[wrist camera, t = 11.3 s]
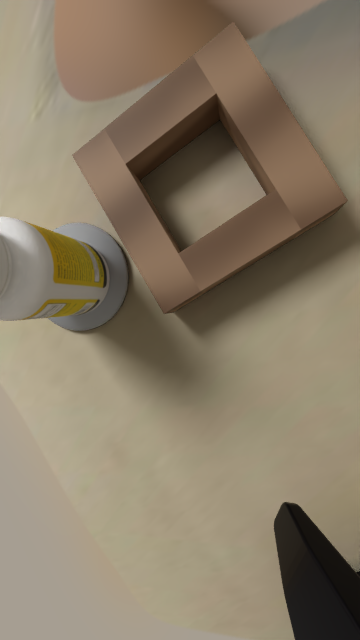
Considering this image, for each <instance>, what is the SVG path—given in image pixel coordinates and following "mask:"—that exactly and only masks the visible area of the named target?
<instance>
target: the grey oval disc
mask: <svg viewBox="0 0 360 640" xmlns="http://www.w3.org/2000/svg"><path fill="white" fill-rule="evenodd" d="M53 231H54V232H56V233H59V234H62V235H65V236H68V237H71V238H74V239H76V240H79V241H82V242H84V243H87V244H89V245H91V246H93V247H94V248H95V249H97V250H98V251H99V252H100V253H101V255H102V256H103V257H104V259H105V261H106V263H107V266H108V269H109V277H110V281H109V288H108V291H107V294H106V296H105V298H104V300H103V301H102V302H101V304H100V305H99V306H98V307H97V308H95V309H94V310H92V311H90V312H88V313H85V314H81V315H74V316H62V317H50V318H48V319H49V320H51V321H52V322H53V323H55V324H57V325H58V326H60V327H63V328H66V329H70V330H77V331H80V330H88V329H93V328H96V327H99V326H101V325H103V324H104V323H106V322H107V321H109V320H110V319H111V318H112V317H113V316H114V315H115V314H116V313H117V311H118V310H119V309H120V307H121V305H122V304H123V301H124V299H125V296H126V293H127V289H128V280H129V274H128V266H127V262H126V259H125V256H124V254H123V252H122V250H121V248H120V246H119V245H118V243H117V242H116V241H115V240H114V239H113V238H112V237H111V236H110V235H109V234H108V233H106V232H105V231H103V230H102V229H100V228H98V227H95V226H93V225H90V224H85V223H71V224H66V225H63V226H61V227H59V228H56V229H55V230H53Z"/></svg>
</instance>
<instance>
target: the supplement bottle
mask: <svg viewBox="0 0 360 640" xmlns="http://www.w3.org/2000/svg"><path fill="white" fill-rule="evenodd" d="M109 281H110V277H109V269H108V266H107V263H106V261H105V259H104V257H103V256H102V255H101V253H100V252H99V251H98V250H97V249H95V248H94V247H93V246H91V245H89V244H87V243H84V242H82V241H79V240H76V239H74V238H71V237H68V236H65V235H62V234H59V233H56V232H54V231H51V230H47V229H45V228H42V227H39V226H36V225H33V224H30V223H27V222H24V221H22V220H18V219H14V218H10V217H0V320H3V321H14V320H26V319H37V318H50V317H62V316H74V315H81V314H85V313H88V312H90V311H92V310H94V309H95V308H97V307H98V306H99V305H100V304H101V302H102V301H103V300H104V298H105V296H106V294H107V291H108V288H109Z"/></svg>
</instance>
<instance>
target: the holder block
mask: <svg viewBox="0 0 360 640" xmlns="http://www.w3.org/2000/svg"><path fill="white" fill-rule="evenodd" d="M219 120H221V122H222V123H223V125H224V127H225V128H226V130H227V131H228V133H229V135H230V136H231V138H232V140H233V141H234V143H235V144H236V146H237V148H238V149H239V151H240V152H241V154H242V156H243V157H244V159H245V161H246V162H247V164H248V165H249V167H250V169H251V170H252V172H253V173H254V175H255V177H256V178H257V180H258V181H259V183H260V185H261V186H262V188H263V190H264V191H265V193H266V194H267V195H266V196H265V197H263V198H262V199H260V200H259V201H257V202H256V203H254V204H252V205H251V206H249V207H248V208H246V209H245V210H243V211H242V212H240V213H239V214H237V215H236V216H234V217H233V218H231V219H230V220H228V221H227V222H225V223H224V224H222V225H221V226H219V227H218V228H216V229H215V230H213V231H212V232H210V233H209V234H207V235H206V236H204V237H203V238H201V239H200V240H198V241H197V242H195V243H193V244H192V245H190V246H189V247H187V248H186V249H184V250H183V251H181V249H180V248H179V246H178V244H177V243H176V241H175V239H174V238H173V236H172V234H171V233H170V231H169V229H168V227H167V226H166V224H165V222H164V221H163V219H162V217H161V216H160V214H159V212H158V211H157V209H156V207H155V206H154V204H153V202H152V200H151V199H150V197H149V195H148V194H147V192H146V190H145V189H144V187H143V185H142V184H141V182H140V179H142V178H143V177H144V176H146V175H147V174H148V173H150V172H151V171H152V170H154V169H155V168H156V167H158V166H159V165H160V164H162V163H163V162H164V161H166V160H167V159H168V158H170V157H171V156H172V155H173V154H175V153H176V152H177V151H179V150H180V149H181V148H183V147H184V146H185V145H187V144H188V143H189V142H191V141H192V140H193V139H195V138H196V137H197V136H199V135H200V134H201V133H203V132H204V131H205V130H207V129H208V128H209V127H211V126H212V125H213V124H215V123H216V122H217V121H219ZM72 156H73V158H74V160H75V161H76V163H77V165H78V166H79V168H80V170H81V172H82V173H83V175H84V177H85V178H86V180H87V182H88V184H89V185H90V187H91V189H92V191H93V192H94V194H95V196H96V197H97V199H98V201H99V203H100V204H101V206H102V208H103V210H104V211H105V213H106V215H107V216H108V218H109V220H110V222H111V223H112V225H113V227H114V228H115V230H116V232H117V234H118V235H119V237H120V239H121V241H122V242H123V244H124V246H125V247H126V249H127V251H128V253H129V254H130V256H131V258H132V260H133V261H134V263H135V265H136V266H137V268H138V270H139V272H140V273H141V275H142V277H143V278H144V280H145V282H146V284H147V285H148V287H149V289H150V291H151V292H152V294H153V296H154V297H155V299H156V301H157V303H158V304H159V306H160V308H161V310H162V311H163V313H164V314H166V313H172V312H175V311H176V310H178V309H180V308H181V307H183V306H185V305H186V304H188V303H190V302H191V301H193V300H194V299H196V298H198V297H199V296H201V295H203V294H204V293H206V292H208V291H209V290H211V289H212V288H214V287H216V286H217V285H219V284H221V283H222V282H224V281H226V280H227V279H229V278H230V277H232V276H234V275H235V274H237V273H239V272H240V271H242V270H244V269H245V268H247V267H248V266H250V265H252V264H253V263H255V262H257V261H258V260H260V259H262V258H263V257H265V256H266V255H268V254H270V253H271V252H273V251H275V250H276V249H278V248H280V247H281V246H283V245H285V244H286V243H288V242H289V241H291V240H293V239H294V238H296V237H298V236H299V235H301V234H303V233H304V232H306V231H307V230H309V229H311V228H312V227H314V226H316V225H317V224H319V223H321V222H322V221H324V220H325V219H327V218H329V217H330V216H332V215H334V214H335V213H336V212H337V211H338V210H339V209H340V208H341V207H342V206H343V205H344V204H345V203H346V202H347V201H348V200H347V199H346V197H345V196H344V194H343V193H342V191H341V189H340V188H339V186H338V185H337V183H336V182H335V180H334V179H333V177H332V175H331V174H330V172H329V171H328V169H327V168H326V166H325V164H324V163H323V161H322V160H321V158H320V157H319V155H318V153H317V152H316V150H315V149H314V147H313V146H312V144H311V142H310V141H309V139H308V138H307V136H306V135H305V133H304V131H303V130H302V128H301V127H300V125H299V124H298V122H297V121H296V119H295V117H294V116H293V114H292V113H291V111H290V110H289V108H288V106H287V105H286V103H285V102H284V100H283V99H282V97H281V95H280V94H279V92H278V91H277V89H276V88H275V86H274V84H273V83H272V81H271V80H270V78H269V77H268V75H267V73H266V72H265V70H264V69H263V67H262V66H261V64H260V63H259V61H258V59H257V58H256V56H255V55H254V53H253V52H252V50H251V48H250V47H249V45H248V44H247V42H246V41H245V39H244V38H243V36H242V34H241V33H240V31H239V30H238V28H237V27H236V25H235V23H234V22H232V23H231V24H230V25H229V26H227V27H226V28H225V29H224V30H223V31H221V32H220V33H219V34H218V35H216V36H215V37H214V38H213V39H212V40H210V41H209V42H208V43H207V44H206V45H204V46H203V47H202V48H201V49H200V50H198V51H197V52H196V53H195V54H194V55H192V56H191V57H190V58H189V59H188V60H186V61H185V62H184V63H183V64H181V65H180V66H179V67H178V68H177V69H175V70H174V71H173V72H172V73H171V74H169V75H168V76H167V77H166V78H165V79H163V80H162V81H161V82H160V83H159V84H157V85H156V86H155V87H154V88H153V89H151V90H150V91H149V92H148V93H147V94H145V95H144V96H143V97H142V98H141V99H139V100H138V101H137V102H136V103H134V104H133V105H132V106H131V107H130V108H128V109H127V110H126V111H125V112H124V113H122V114H121V115H120V116H119V117H118V118H116V119H115V120H114V121H113V122H112V123H110V124H109V125H108V126H107V127H106V128H104V129H103V130H102V131H101V132H100V133H98V134H97V135H96V136H95V137H93V138H92V139H91V140H90V141H89V142H87V143H86V144H85V145H84V146H83V147H81V148H80V149H79V150H78V151H77V152H75V153H74V154H73V155H72Z"/></svg>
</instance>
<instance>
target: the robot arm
mask: <svg viewBox="0 0 360 640" xmlns="http://www.w3.org/2000/svg"><path fill="white" fill-rule="evenodd" d="M274 532H275V538H276V545H277V551H278V558H279V565H280V571H281V578H282V584H283V589H284V594H285V599H286V603H287V608H288V612H289V616H290V620H291V624H292V628H293V633H294V637H295V640H360V571H359V572H355V571H354V570H353V569H352V567H351V566H350V565H349V564H348V563H347V562H346V560H345V559H344V558H343V557H342V556H341V554H340V553H339V552H338V551H337V550H336V549H335V547H334V546H333V545H332V544H331V543H330V541H329V540H328V539H327V538H326V537H325V536H324V534H323V533H322V532H321V531H320V530H319V529H318V527H317V526H316V525H315V524H314V523H313V521H312V520H311V519H310V518H309V517H308V516H307V514H306V513H305V512H304V511H303V510H302V508H301V507H300V506H299V505H297V504H295V503H289V502H284V503H283V504H282V505H281V507H280V509H279V512H278V514H277V516H276V518H275V521H274Z"/></svg>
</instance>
